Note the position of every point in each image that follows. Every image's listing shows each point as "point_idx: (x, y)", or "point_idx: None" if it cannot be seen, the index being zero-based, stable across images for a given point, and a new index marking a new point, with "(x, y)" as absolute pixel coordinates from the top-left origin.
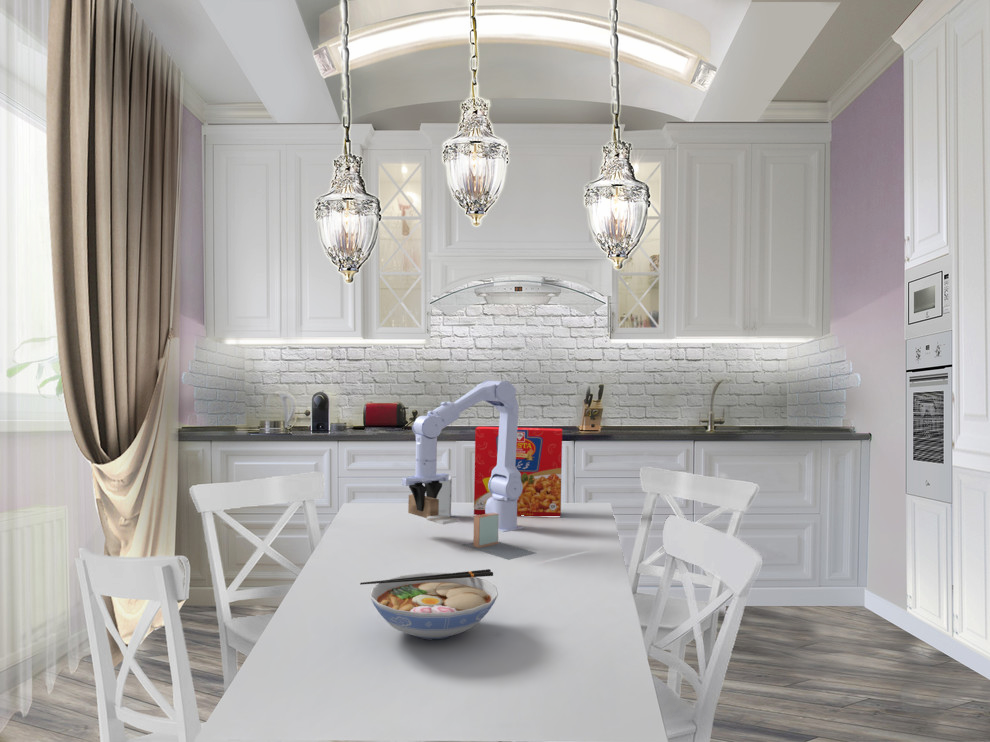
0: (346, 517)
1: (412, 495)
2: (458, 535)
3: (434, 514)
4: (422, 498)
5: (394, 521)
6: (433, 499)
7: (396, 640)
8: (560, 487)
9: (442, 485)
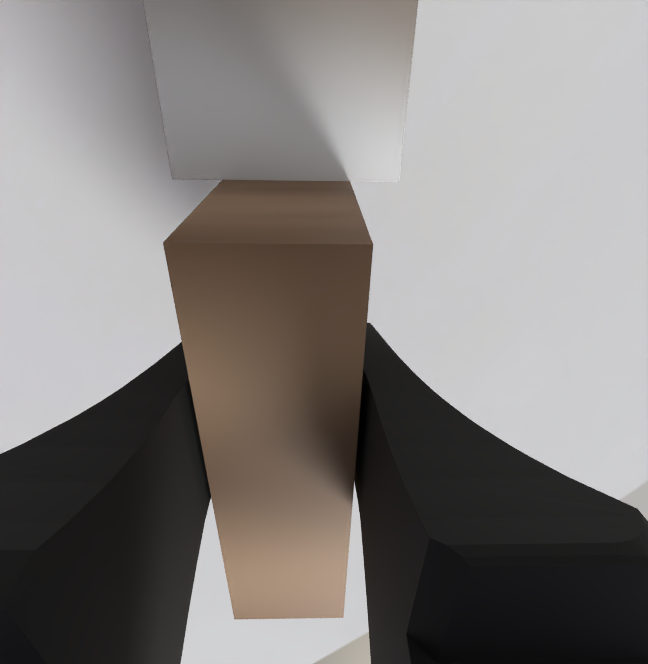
0: (323, 651)
1: (330, 590)
2: (27, 213)
3: (282, 184)
4: (415, 398)
5: (209, 568)
6: (262, 290)
7: None
8: None
9: None
